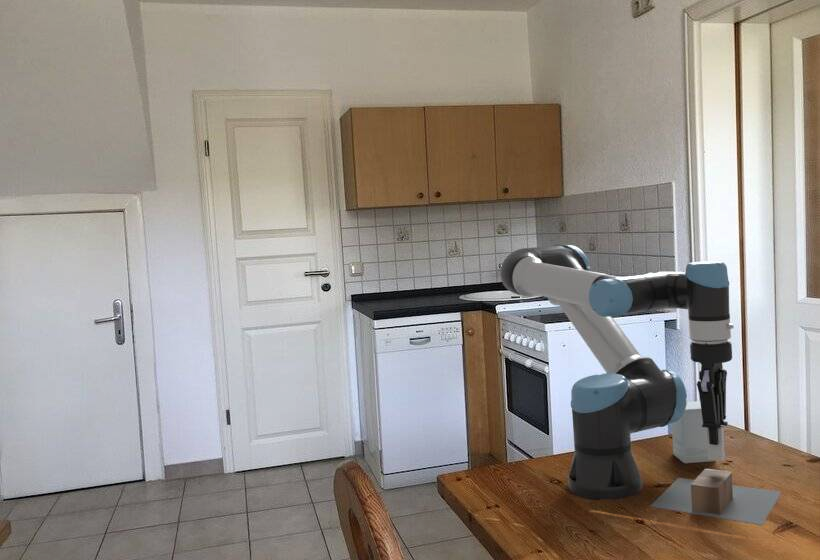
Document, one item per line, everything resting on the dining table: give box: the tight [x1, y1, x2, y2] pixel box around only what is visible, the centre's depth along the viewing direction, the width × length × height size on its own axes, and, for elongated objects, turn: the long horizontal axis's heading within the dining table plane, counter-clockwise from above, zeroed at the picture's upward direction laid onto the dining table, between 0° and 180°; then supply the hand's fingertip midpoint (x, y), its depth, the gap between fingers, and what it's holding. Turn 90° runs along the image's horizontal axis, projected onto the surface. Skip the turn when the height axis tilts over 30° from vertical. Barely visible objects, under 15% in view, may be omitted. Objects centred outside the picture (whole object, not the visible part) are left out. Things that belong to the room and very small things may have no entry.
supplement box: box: [671, 400, 717, 464], centre depth 166 cm, size 7×7×13 cm
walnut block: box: [691, 468, 734, 515], centre depth 139 cm, size 5×5×10 cm
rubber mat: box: [649, 477, 783, 526], centre depth 141 cm, size 20×18×1 cm
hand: (716, 459), depth 142 cm, fingers closed
